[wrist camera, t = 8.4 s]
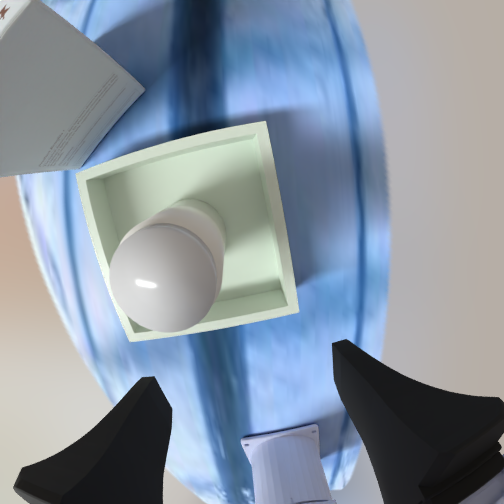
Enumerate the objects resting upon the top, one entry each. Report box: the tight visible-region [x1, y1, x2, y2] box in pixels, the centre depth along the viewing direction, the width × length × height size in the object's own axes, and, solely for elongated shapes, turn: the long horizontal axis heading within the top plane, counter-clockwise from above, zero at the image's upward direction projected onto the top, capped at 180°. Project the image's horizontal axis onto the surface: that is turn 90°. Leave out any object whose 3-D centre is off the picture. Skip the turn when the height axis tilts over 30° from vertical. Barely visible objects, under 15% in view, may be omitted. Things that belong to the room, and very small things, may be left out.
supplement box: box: [0, 0, 145, 177], centre depth 8 cm, size 7×7×13 cm
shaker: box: [109, 199, 226, 333], centre depth 13 cm, size 4×4×8 cm
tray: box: [76, 121, 299, 342], centre depth 16 cm, size 11×11×3 cm
